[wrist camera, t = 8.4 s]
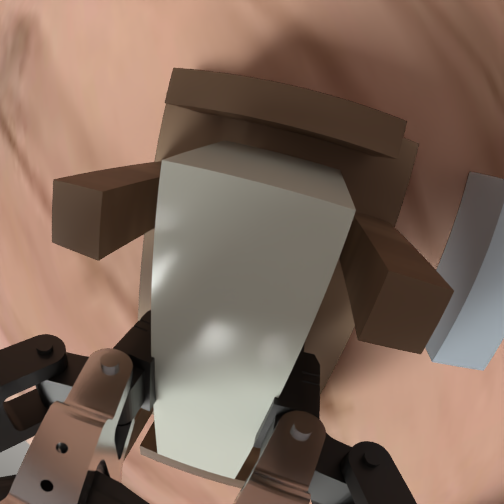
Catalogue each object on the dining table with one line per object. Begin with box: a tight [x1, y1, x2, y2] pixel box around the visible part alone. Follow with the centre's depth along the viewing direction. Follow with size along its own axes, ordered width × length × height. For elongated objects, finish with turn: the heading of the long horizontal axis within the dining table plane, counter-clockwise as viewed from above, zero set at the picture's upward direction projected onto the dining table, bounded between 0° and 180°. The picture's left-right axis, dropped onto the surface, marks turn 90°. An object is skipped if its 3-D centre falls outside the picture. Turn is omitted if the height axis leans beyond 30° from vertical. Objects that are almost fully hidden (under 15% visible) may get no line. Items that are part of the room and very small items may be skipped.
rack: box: [52, 68, 454, 488], centre depth 10 cm, size 17×9×7 cm, turn 167°
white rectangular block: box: [151, 140, 356, 479], centre depth 10 cm, size 4×12×4 cm, turn 167°
